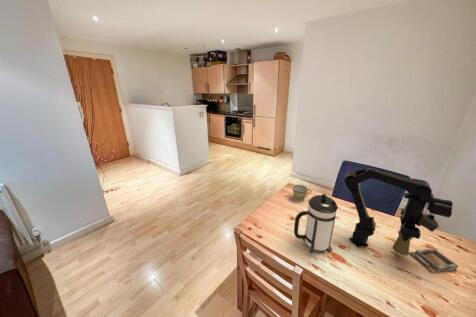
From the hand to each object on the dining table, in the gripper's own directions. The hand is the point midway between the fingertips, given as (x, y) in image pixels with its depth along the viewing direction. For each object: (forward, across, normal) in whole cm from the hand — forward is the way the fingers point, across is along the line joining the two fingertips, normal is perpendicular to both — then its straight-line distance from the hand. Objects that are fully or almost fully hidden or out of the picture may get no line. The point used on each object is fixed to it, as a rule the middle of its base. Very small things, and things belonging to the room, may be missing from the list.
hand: (404, 237), depth 91 cm
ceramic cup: (+12, +20, +56) cm, 61 cm away
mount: (+12, +6, -12) cm, 18 cm away
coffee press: (+12, -17, +34) cm, 40 cm away
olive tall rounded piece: (+8, 0, 0) cm, 8 cm away
